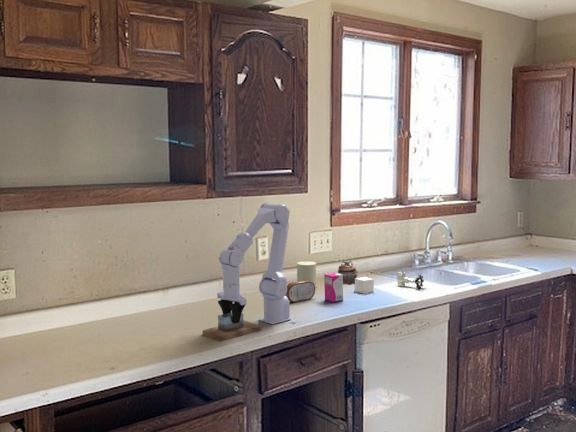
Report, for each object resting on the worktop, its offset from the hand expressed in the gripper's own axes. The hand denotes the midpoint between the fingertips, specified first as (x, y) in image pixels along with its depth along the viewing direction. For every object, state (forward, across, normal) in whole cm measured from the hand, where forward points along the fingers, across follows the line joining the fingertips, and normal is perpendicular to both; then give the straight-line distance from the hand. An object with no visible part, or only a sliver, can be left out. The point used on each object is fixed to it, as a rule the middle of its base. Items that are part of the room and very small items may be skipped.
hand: (231, 321), depth 205 cm
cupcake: (+4, -27, +90) cm, 94 cm away
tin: (+4, -16, +48) cm, 51 cm away
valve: (+4, 0, +102) cm, 102 cm away
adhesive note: (+4, -8, +80) cm, 81 cm away
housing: (+2, 0, 0) cm, 2 cm away
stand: (+4, 0, 0) cm, 4 cm away
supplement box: (+4, -6, +58) cm, 58 cm away
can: (+4, -32, +67) cm, 74 cm away
